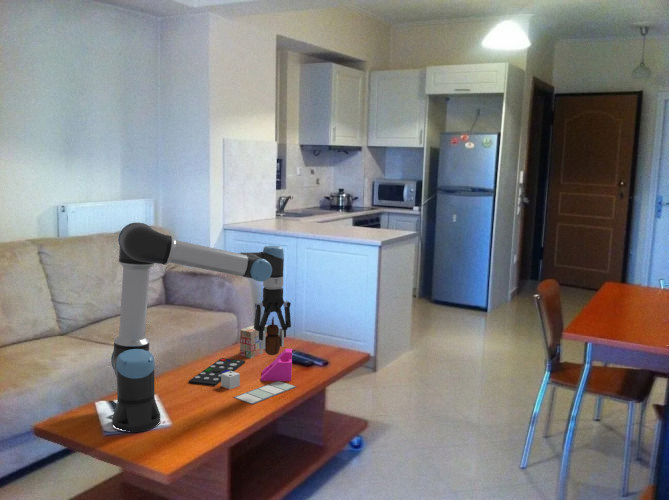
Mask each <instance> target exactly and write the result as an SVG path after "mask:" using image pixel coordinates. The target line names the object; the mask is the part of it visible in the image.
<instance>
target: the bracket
mask: <svg viewBox="0 0 669 500" xmlns="http://www.w3.org/2000/svg"><path fill="white" fill-rule="evenodd" d="M276 357H277V358H275V360H273V361H272V362H271V363H270V364H269V365H267V366H265V368H263V370H262V371H261V377H260V381H262V382H266V381H267V382H276V381H281V382H291V381H292V373H293V372H292V370H293V369H292V367H293V364H292V363H293V348H285V349H284V350H283V351H282V352H281V353H280V354H278V356H276Z"/></svg>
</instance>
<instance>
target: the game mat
mask: <svg viewBox="0 0 669 500" xmlns="http://www.w3.org/2000/svg"><path fill="white" fill-rule="evenodd" d="M295 388H297V385H296V386H295V385H293V384H290V383H287V382H285V381H272V382H271V383H268V384H265V385H262V386H260V387H257V388H254V389H252V390H248V391H247V392H243V393H240V394H238V395H235V396H233V397H232V398H234V399H236V400H239V401H241V402H244V403H246V404H250V405H251V406H252V405H255V404H258V403H260V402H263V401H265V400H268V399H270V398H273V397H275V396H278V395H281V394H283V393H285V391H286V392H288V391H290V390H293V389H295Z"/></svg>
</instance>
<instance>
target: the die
mask: <svg viewBox="0 0 669 500" xmlns="http://www.w3.org/2000/svg"><path fill="white" fill-rule="evenodd" d="M220 384H221V386H220V387H223V388H225V389H229V390H232V389H235V388H237V387H240V386H241V374H240V373H239V372H236V371H234V372H233V371H229V372H226V373H223V374H221V382H220Z"/></svg>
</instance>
